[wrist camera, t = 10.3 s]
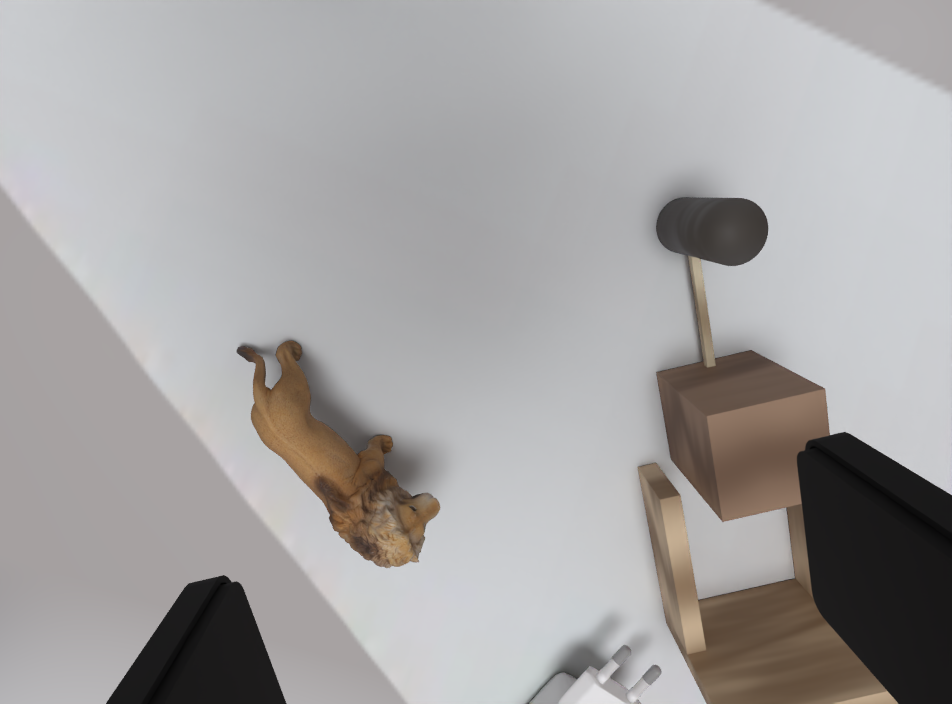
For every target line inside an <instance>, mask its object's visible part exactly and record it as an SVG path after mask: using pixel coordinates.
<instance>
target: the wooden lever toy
mask: <svg viewBox="0 0 952 704" xmlns="http://www.w3.org/2000/svg"><path fill="white" fill-rule="evenodd" d="M656 229H657V235H658V238H659V240H660V242H661V243H662V244H663V245H664V247H666V248H667V249H669V250H670V251H673V252H676V253H680V254H684V255H688V259H689V265H690V272H691V279H692V286H693V292H694V299H695V306H696V312H697V319H698V326H699V333H700V339H701V346H702V353H703V359H704V361H703V362H699V363H694V364H690V365H686V366H682V367H677V368H673V369H669V370H665V371H660V372H656V373H657V379H658V385H659V391H660V397H661V403H662V409H663V415H664V421H665V427H666V432H667V438H668V444H669V450H670V456H671V460H672V461H673V462H674V464H675V465H676V466H677V467H678V468H679V470H680V471H681V472H682V473H683V474H684V476H685V477H686V478H687V479H688V481H689V482H690V483H691V484H692V485H693V487H694V488H695V489H696V490H697V491H698V493H699V494H700V495H701V496H702V497H703V499H704V500H705V501H706V502H707V504H708V505H709V506H710V507H711V508H712V510H713V511H714V512H715V513H716V514H717V516H718V517H719V518H720V519H721V521H722V522H724V521H728V520H733V519H737V518H742V517H746V516H750V515H755V514H759V513H763V512H768V511H772V510H777V509H781V508H785V507H790V506H794V505H798V504H802V502H801V494H800V485H799V477H798V468H797V455H798V453H799V452H800V451H804V450H805V446H806V443H807V442H808V441H809V440H812V439H816V438H821V437H825V436H829V435H830V433H829V423H828V413H827V403H826V393H825V388H823V387H821V386H819V385H817V384H815V383H813V382H811V381H809V380H807V379H805V378H803V377H802V376H800V375H798V374H796V373H794V372H792V371H790V370H788V369H786V368H784V367H782V366H780V365H779V364H777V363H775V362H773V361H771V360H769V359H767V358H765V357H763V356H761V355H759V354H757V353H756V352H754V351H752V350H750V351H746V352H741V353H737V354H733V355H729V356H724V357H720V358H716V359H715V357H714V350H713V343H712V336H711V329H710V322H709V315H708V308H707V301H706V295H705V288H704V281H703V274H702V267H701V260H700V259H703V260H707V261H711V262H715V263H719V264H722V265H727V266H737V265H741V264H744V263H746V262H748V261H750V260H752V259H753V258H754V257H755V256H756V255H757V254H758V253H759V252H760V251H761V250H762V248H763V246H764V244H765V242H766V239H767V235H768V222H767V218H766V216H765V214H764V212H763V210H762V209H761V208H760V207H759V206H758V205H757V204H756V203H754V202H752V201H750V200H747V199H742V198H687V197H686V198H678V199H675V200H673V201H671V202H670V203H668V204H667V205H666V206H665V207H664V208H663V210H662V211H661V213H660V214H659V217H658V220H657V226H656Z"/></svg>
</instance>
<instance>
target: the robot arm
mask: <svg viewBox="0 0 952 704" xmlns="http://www.w3.org/2000/svg"><path fill="white" fill-rule="evenodd" d="M797 468H798V477H799V485H800V494H801V502H802V511H803V520H804V528H805V537H806V546H807V554H808V563H809V572H810V580H811V589H812V595H813V599H814V602H815V604H816V606H817V609H818V610H819V612H820V614H821V615H822V617H823V618H824V619H825V620H826V621H827V623H828V624H829V625H830V626H831V627H832V628H833V629H834V631H835V632H836V633H837V634H838V635H839V636H840V637H841V639H842V640H843V641H844V642H845V643H846V644H847V645H848V647H849V648H850V649H851V650H852V651H853V652H854V653H855V655H856V656H857V657H858V658H859V659H860V660H861V661H862V663H863V664H864V665H865V666H866V667H867V668H868V669H869V671H870V672H871V673H872V674H873V675H874V676H875V677H876V679H877V680H878V681H879V682H880V683H881V684H882V685H883V687H884V688H885V689H886V690H887V691H888V692H889V693H890V695H891V696H892V697H893V698H894V699H895V700H896V701H897V703H898V704H952V495H950V494H949V493H947V492H945V491H944V490H942V489H940V488H939V487H937V486H935V485H934V484H932V483H930V482H929V481H927V480H925V479H924V478H922V477H920V476H919V475H917V474H916V473H914V472H912V471H911V470H909V469H907V468H906V467H904V466H902V465H901V464H899V463H897V462H896V461H894V460H892V459H891V458H889V457H887V456H886V455H884V454H882V453H881V452H879V451H877V450H876V449H874V448H872V447H871V446H869V445H867V444H866V443H864V442H862V441H861V440H859V439H857V438H856V437H854V436H852V435H851V434H849V433H846V432H843V433H838V434H834V435H829V436H825V437H821V438H816V439H812V440H809V441H808V442H807V443H806V446H805V450H804V451H800V452H799V453H798V455H797ZM106 704H286V701H285V699H284V696H283V694H282V691H281V688H280V686H279V683H278V680H277V677H276V675H275V672H274V669H273V667H272V664H271V661H270V659H269V656H268V653H267V651H266V648H265V645H264V643H263V640H262V637H261V635H260V632H259V629H258V626H257V624H256V621H255V618H254V616H253V613H252V610H251V608H250V605H249V602H248V600H247V597H246V595H245V592H244V589H243V587H242V586H241V584H240V583H239V582H231V581H230V580H229V578H228V577H226V576H224V575H223V576H219V577H215V578H211V579H206V580H202V581H197V582H193V583H189V584H188V585H187V586H186V587H185V588H184V590H183V591H182V592H181V594H180V595H179V597H178V598H177V600H176V601H175V603H174V604H173V606H172V607H171V609H170V610H169V612H168V613H167V615H166V616H165V617H164V619H163V621H162V622H161V623H160V625H159V626H158V628H157V630H156V631H155V632H154V634H153V635H152V637H151V638H150V640H149V641H148V642H147V644H146V646H145V647H144V648H143V650H142V651H141V653H140V654H139V656H138V657H137V659H136V660H135V662H134V663H133V665H132V666H131V668H130V669H129V671H128V672H127V673H126V675H125V676H124V678H123V679H122V681H121V682H120V684H119V685H118V687H117V688H116V690H115V691H114V692H113V694H112V696H111V697H110V698H109V700H108V701H107V703H106Z"/></svg>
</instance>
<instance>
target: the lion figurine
mask: <svg viewBox="0 0 952 704" xmlns="http://www.w3.org/2000/svg"><path fill="white" fill-rule="evenodd" d="M237 353H238V354H239V355H240V356H242V357H244V358H245V359H246V360H247V361H249V362H254V363H256V368H255V373H254V379H253V395H254V401H255V403H254V405H253V407H252V411H251V420H252V423H253V425H254V427H255V429H256V431H257V433H258V435H259V437H260V438H261V440H262V441H263V443H264V444H265V445H266V446H267V447H268V448H269V449H271V450H272V451H274V452H275V453H276V454H278V455H279V456H280V457H281V458H283V459H284V460H285V461H286V462H287V464H288V465H289V466H290V467H291V468H292V469H293V470H294V472H295V473H296V474H297V475H298V476H299V477H300V479H301V480H302V481H303V482H304V483H305V484H306V485H307V486H308V487H309V488H310V489H311V490H312V491H313V492H314V493H315V494H316V495H317V496H318V497H319V498H320V499H321V500H322V501H323V503H324V504H325V506H326V508H327V510H328V512H329V514H330V517H329V519H330V522H331V524H332V526H333V529H334V531H337V532H339V536H340V537H341V538H344V539H345V541H346V542H347V543H349V544H350V546H351V548H352V549H353V550H355V551H357V552H358V553H359V554H360V555H361V556H363V558H364V559H366V560H371V561H373V562H374V563H375V564H376V565H377V566H380V567H385V568H390V567H391V566H395V567H400V566H402V565H404V564H406V563H408V562H409V561H412V562H419V560H418V557H419V553H420V552H421V549H422V545H423V543H424V540H425V537H424V535H423V534H424V532H425V526H426V524H427V523H428V521H429V520H431V519H433V518H434V517H435V516H436V515H437V514H438V512H439V510H440V504H439V502H438V500H437V499H436V498H433V496H432V495H431V494H429V493H421V494H418V495H415V496H413V497H412V496H411V495H410V494H409V492H407V491H405V490H403V489H402V488H400V487H399V485H398V483H397V480H396V479H395V478H394V477H393V476H392V475H391V474H390V473H389V472H388V471H386V470H385V469H384V454H386V453H388V452H391V448H392V446H393V443H392V439H391V437H389V436H385V435H378V436H375V437H374V438H372V439H370V440H369V441H368V444H367V449H366V450H364V451H361V452H360V453H359V454H358V455H357V454H356V453H355V452H354V451H353V449H352V448H351V447H350V446H349V445H348V444H347V443H346V442H345V441H344V440H343V439H342V438H341V437H340V436H339V435H338V434H337V433H336V432H335V431H333V430H332V429H331V428H330V427H328V426H327V425H325V424H324V423H322V422H320V421H318V420H316V419H315V418H313V416H312V415H311V413H310V401H311V394H310V390H309V386H308V382H307V379H306V377H305V375H304V373H303V371H302V370H301V368H300V367H299V365H298V364H297V363H296V361H298V360H299V359H300V357H301V354H302V350H301V346H300V345H299V344H298V343H296V342H294V341H286V342H284V343H282V344H281V345H280V346H279V347H278V349H277V352H276V357H277V359H278V361H279V363H280V364H281V368H282V376H281V378H280V380H279V381H278V382H277V383H276V385H275V386H274V387H273V388H272V390H270V389H269V388H268V387H266V386H265V377H266V370H265V362H264V360H263V358H262V357H261V356H260V355H258V354H256V353H255V352H254V350H253V349H252V348H247V347H245V346H241V347H238V349H237Z"/></svg>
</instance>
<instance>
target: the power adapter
mask: <svg viewBox="0 0 952 704" xmlns="http://www.w3.org/2000/svg"><path fill="white" fill-rule="evenodd" d="M630 655H631V649H630V648H629V647H628V646H626V645H623V646H622V647H621V648H620V649H619V650H618V651H617V652H616V653H615V654H614V656H613V657H612V659H611V660H610V661H609V662H608V663H607V664H606V665H605V666H604V667H603V668H602V669H601V670H600V671H599V670H597V669H596V668H593V667H591V666H589V667H588V668H587V669H586V670H585V671H584V673H583V674H582V675H581V676H580V677H579V678H578V679H576V678H575V677H573V676H571V675H569V674H567V673H565V672H562V673H559V674H556V675H555V676H554V677H553V678H552V679H551V680H550V681H549V682H548V683H547V684H546V685H545V686H544V687H543V688H542V689H541V690H540V692H539V693H538V694H537V695H536V696H535V697H534V698H533V699H532V700H531V702H530V703H529V704H641V703H640V701H639V700H638V698H639V697H640V696H641V694H642V693H643V692H644V691H645V690H646V689H647V688H648V687H649V686H650V685H651V684H652V683H653V682H654V681H655V680H656V679H657V678H658V677H659V676H660V675H661V669H660V667H659V666H657V665H652V666H651V667H650V669H649V670H648V671H647V672H646V673H645V674H644V675H643V677H642V678H641V679H640V680H639V681H638V682H637V683H636V684H635V685H634V687H632V688H631V689H630V690H628V689H627V688H625V687H624V686H622V685H621V684H619V683H618V682H616V681H614V680H613V679H611V678H610V677H611V675H612V674H613V673H614V672H615V670H616V669H617V668H618V667H619V666H621V665H622V664H623V663H624V662H625V660H626V659H627V658H628V657H629V656H630Z"/></svg>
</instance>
